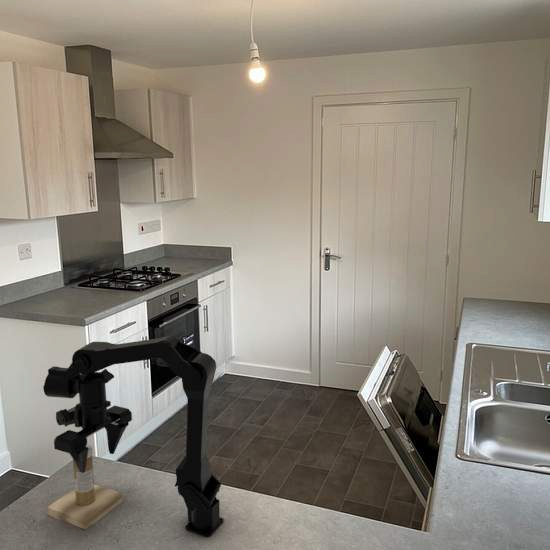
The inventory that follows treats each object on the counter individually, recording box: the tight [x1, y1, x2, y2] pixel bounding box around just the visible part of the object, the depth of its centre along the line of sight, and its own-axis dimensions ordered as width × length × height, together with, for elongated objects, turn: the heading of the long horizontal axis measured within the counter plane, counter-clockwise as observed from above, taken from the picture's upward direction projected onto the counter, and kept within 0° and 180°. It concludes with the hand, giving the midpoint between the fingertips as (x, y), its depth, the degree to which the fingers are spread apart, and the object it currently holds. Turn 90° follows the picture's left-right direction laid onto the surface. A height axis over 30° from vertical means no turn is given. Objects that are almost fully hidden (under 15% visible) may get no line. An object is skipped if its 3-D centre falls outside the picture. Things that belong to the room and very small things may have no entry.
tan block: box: [46, 483, 124, 530], centre depth 129 cm, size 12×12×2 cm
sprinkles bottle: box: [72, 443, 95, 505], centre depth 127 cm, size 5×5×14 cm
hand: (97, 462), depth 125 cm, fingers open, 9 cm apart
